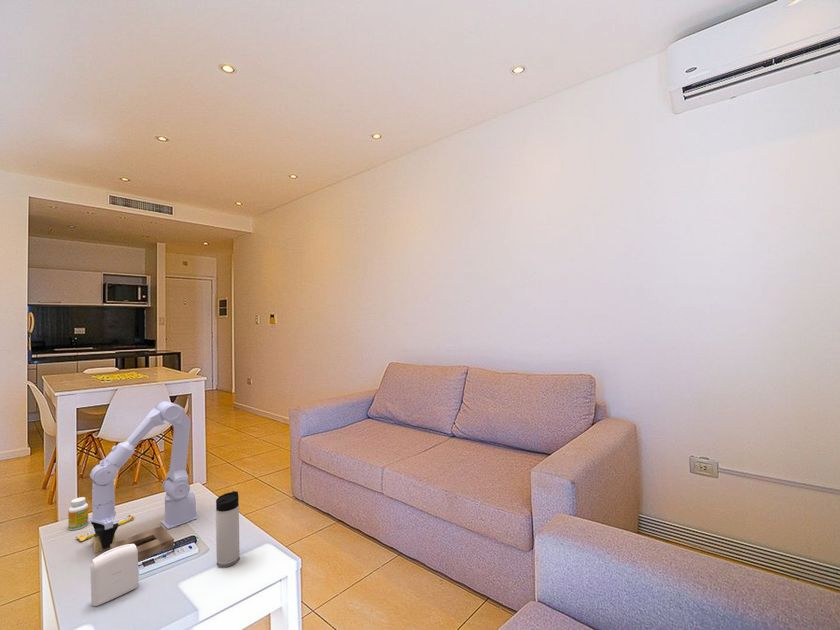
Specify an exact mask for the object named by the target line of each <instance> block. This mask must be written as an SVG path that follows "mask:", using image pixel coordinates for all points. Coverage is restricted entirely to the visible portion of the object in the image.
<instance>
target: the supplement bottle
mask: <svg viewBox="0 0 840 630" xmlns="http://www.w3.org/2000/svg"><path fill="white" fill-rule="evenodd" d="M88 519H89V504H88V503H87V502H86V497H83V496H81V497H77V498H74V499H72V500H71V501H70V507H68V530H69V531H77V530H81V529H84V528H85V527H87V526H89V523H88Z"/></svg>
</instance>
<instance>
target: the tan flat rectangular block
mask: <svg viewBox="0 0 840 630" xmlns="http://www.w3.org/2000/svg"><path fill="white" fill-rule="evenodd" d="M92 538H93V551H94V553H100V552H101V551H105V550H107V549H110V547H109V548H107V549H104V550H103V548H102V545H101V541H100V537H99V535H98V533H97V534H94V535H93V537H92ZM115 539H116V533H115V534H114V538H113V542H112V544H113V543H116V540H115Z"/></svg>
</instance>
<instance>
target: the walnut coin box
mask: <svg viewBox="0 0 840 630" xmlns="http://www.w3.org/2000/svg"><path fill="white" fill-rule="evenodd" d="M127 544H135V545H136V548H137V550H138V562H140V561H143V560H145V559H147V558H149V557H151V556H153V555H154V554H157V553H159V552H161V551H165V550H167V549H170V548H172V547H174V548H175V538H174V537H173V536H172V535H171V534H170V533H169V532H168V531H167V530H166V529H165V528H164V527H163V525H160V526H158V527H155V528H151V529H150V530H147V531H144V532H141V533H138V534H135V535H133V536H130V537H128V538H125V539H121V540H119V541H117V542H116V541H115V543H113V544H110V548H109V550H111V549H113V548H116V547H119V546H123V545H127Z"/></svg>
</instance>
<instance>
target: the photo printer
mask: <svg viewBox="0 0 840 630" xmlns="http://www.w3.org/2000/svg"><path fill="white" fill-rule="evenodd" d="M139 581H140V580H139V566H138V550H137V548H136V545H135V544H127V545H123V546H119V547H116V548H113V549H111V550H110V549H109V550H107V551H105V552H102V553H101V554H98V556H96V557H95V558H93V559H92V560H91V566H90V597H91V599H90V600H91V601H90V602H91V603H90V604H91V606H93V607H99V606H100V605H103V604H104V603H107V602H109V601H112V600H115V598H118V597H120V596H122V595H125V594H126V593H128V592H130V591H133V590H135V589H137V588H138V587H139V584H140V583H139Z"/></svg>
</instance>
